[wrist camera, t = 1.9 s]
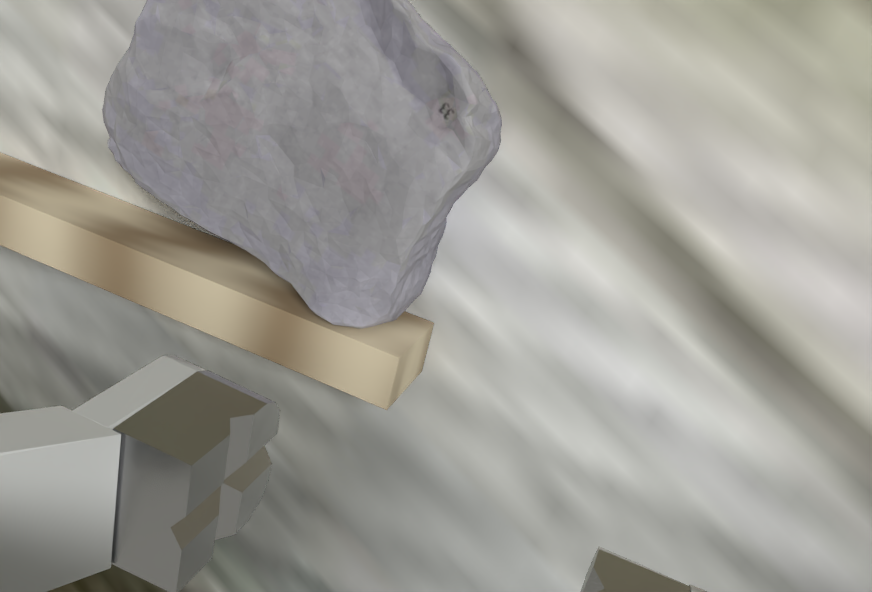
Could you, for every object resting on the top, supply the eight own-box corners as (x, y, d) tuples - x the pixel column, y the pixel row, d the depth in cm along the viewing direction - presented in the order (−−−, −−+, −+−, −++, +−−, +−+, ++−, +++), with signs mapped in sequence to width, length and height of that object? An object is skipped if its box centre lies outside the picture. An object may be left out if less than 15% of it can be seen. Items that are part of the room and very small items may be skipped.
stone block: (266, -115, 28) (139, 142, 30) (192, -162, 23) (51, 145, 26) (563, 82, 27) (402, 327, 30) (548, 74, 22) (360, 365, 25)
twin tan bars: (564, -183, 22) (518, -217, 18) (421, 371, 29) (368, 430, 26) (-46, -319, 27) (-183, -367, 23) (-35, 184, 34) (-137, 210, 31)
